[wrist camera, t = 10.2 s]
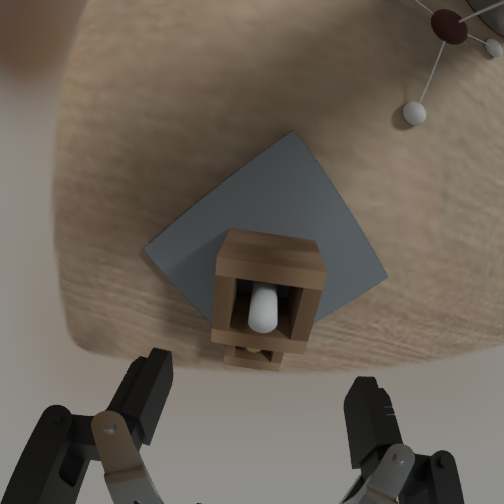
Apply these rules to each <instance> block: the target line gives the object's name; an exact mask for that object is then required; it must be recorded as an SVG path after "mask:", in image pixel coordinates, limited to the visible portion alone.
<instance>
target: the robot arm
mask: <svg viewBox="0 0 504 504" xmlns="http://www.w3.org/2000/svg"><path fill="white" fill-rule="evenodd" d="M467 1H468V2H469V3H470V5H471V6H472V8H473V9H474V10H475V11H476V12H478V11H480V10H483V9H485V8H487V7H489V6H492V5H494V4H496V3H499V2H501V1H504V0H467ZM478 15H479V16H480V17H481V18H482V19H483V21H484V22H485V23H486V24H487V25H489V26H490V27H491V28H492V29H493V30H494V31H496V32H497V33H498V34H500V35H501V36H503V37H504V4H502V5H499V6H497V7H494V8H492V9H490V10H487V11H485V12H483V13H480V14H478ZM172 382H173V365H172V353H171V351H167V350H163V349H159V348H153V349H152V351H151V353H150V355H149V356H148V358H146V357H142V356H140V357H139V358H138V359H136V360H135V361H134V362H132V363H131V365H130V367H129V369H128V371H127V374H125V376H124V378H123V381H122V382H121V384H120V385H119V387H118V389H117V391H116V393H115V395H114V397H113V399H112V401H111V402H110V404H109V406H108V408H107V409H106V410H105V411H102V412H100V413H98V414H96V415H95V416H83V415H73V414H71V413H70V411H69V410H68V409H67V408H66V407H64V406H61V405H52V406H50V407H48V408H47V409H45V411H44V412H43V414H42V416H41V417H40V419H39V421H38V423H37V425H36V427H35V429H34V430H33V433H32V434H31V436H30V438H29V440H28V442H27V444H26V446H25V448H24V450H23V452H22V454H21V457H20V459H19V461H18V463H17V465H16V467H15V470H14V472H13V475H12V476H11V479H10V481H9V484H8V486H7V489H6V491H5V494H4V496H3V499H2V501H1V504H75V503H76V500H77V497H78V493H79V491H80V487H81V485H82V482H83V479H84V476H85V473H86V471H87V468H88V465H89V462H90V460H97V461H101V462H102V465H103V468H104V472H105V474H104V479H105V482H106V485H107V488H108V490H109V493H110V495H111V498H112V500H113V503H114V504H164V502H163V501H162V499H161V497H160V495H159V493H158V491H157V490H156V488H155V486H154V484H153V482H152V480H151V478H150V476H149V473H148V472H147V469H146V467H145V465H144V463H143V460H142V458H141V456H140V453H139V450H140V448H141V445H142V443H143V444H146V445H150V443H151V440H152V437H153V435H154V432H155V429H156V426H157V424H158V421H159V418H160V415H161V413H162V410H163V407H164V405H165V402H166V399H167V397H168V394H169V391H170V389H171V386H172ZM344 414H345V420H346V427H347V433H348V441H349V448H350V456H351V464H352V469H358V468H361V474H360V475H359V477H358V478H357V480H356V481H355V482H354V484H353V485H352V487H351V488H350V490H349V491H348V492H347V494H346V495H345V496H344V498H343V499H342V500H341V502H340V503H339V504H398V502H397V501H396V499H397V496H398V500H399V504H464V499H463V494H462V489H461V484H460V480H459V475H458V471H457V467H456V463H455V459H454V457H453V456H452V454H451V453H449V452H448V451H445V450H440V451H437V452H436V453H434V454H433V455H432V456H427V455H419V454H415V453H414V452H413V451H412V449H411V448H410V447H408V446H407V445H404V444H403V442H402V438H401V434H400V431H399V427H398V423H397V420H396V416H395V415H394V410H393V408H392V403H391V400H390V397H389V395H388V394H387V393H386V391H385V390H384V389H383V388H378V385H377V382H376V379H375V377H361V376H358V377H357V378H356V379H355V381H354V383H353V385H352V387H351V388H350V390H349V392H348V394H347V395H346V397H345V400H344ZM197 504H200V503H197Z"/></svg>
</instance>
